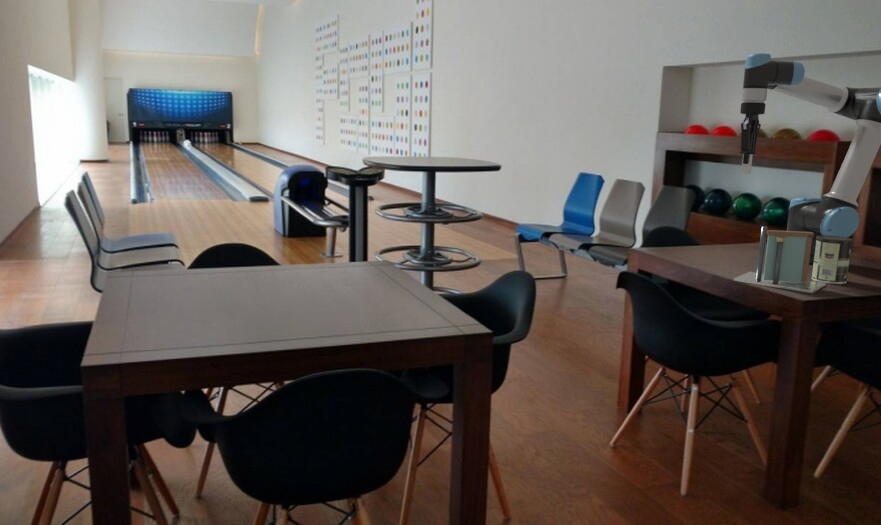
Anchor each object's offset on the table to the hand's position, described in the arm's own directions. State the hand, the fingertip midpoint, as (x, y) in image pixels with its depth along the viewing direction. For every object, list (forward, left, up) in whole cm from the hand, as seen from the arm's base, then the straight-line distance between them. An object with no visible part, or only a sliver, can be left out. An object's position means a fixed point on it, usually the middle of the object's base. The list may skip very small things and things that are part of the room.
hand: (745, 173), depth 249 cm
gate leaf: (+17, +21, -31) cm, 41 cm away
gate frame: (+15, +18, -32) cm, 40 cm away
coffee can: (-2, +29, -33) cm, 44 cm away
